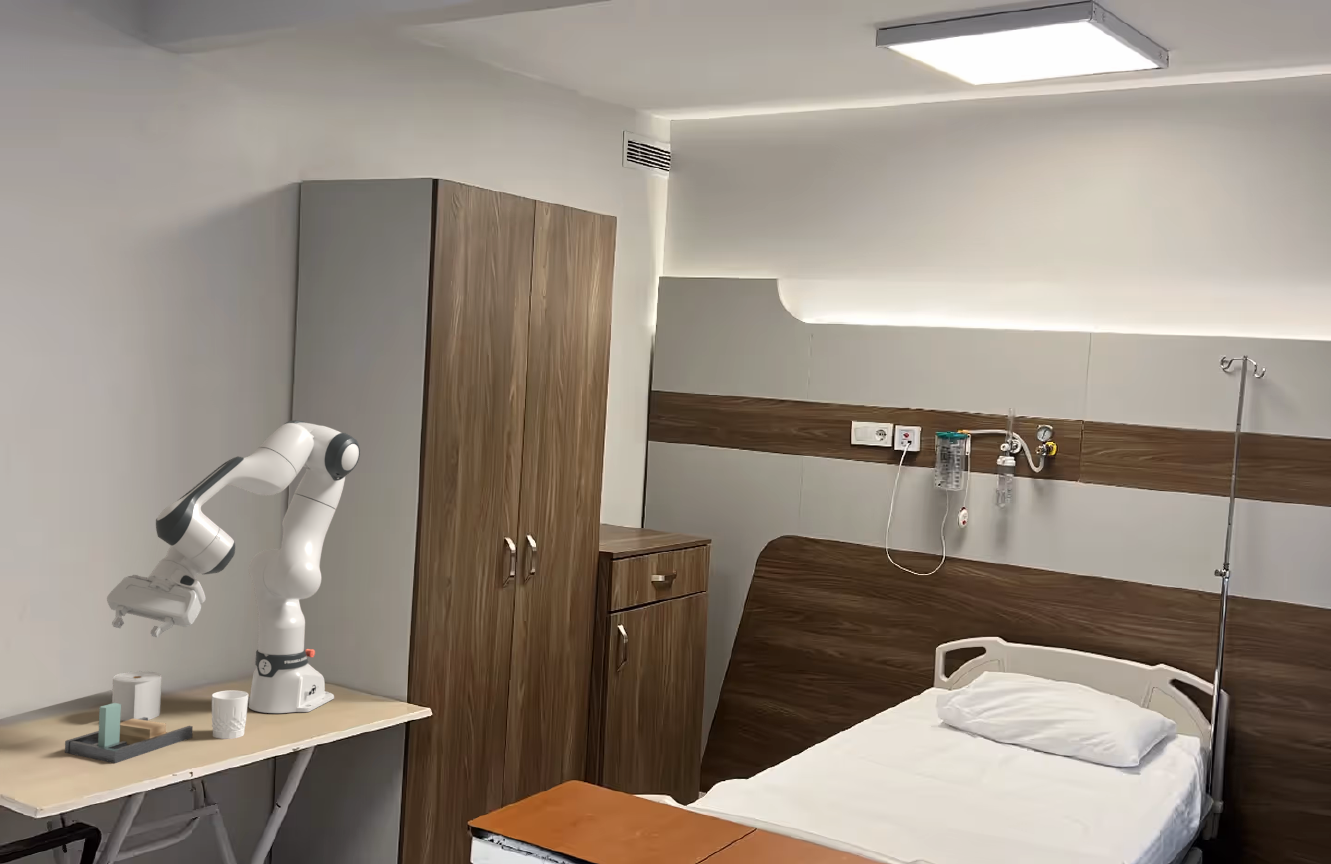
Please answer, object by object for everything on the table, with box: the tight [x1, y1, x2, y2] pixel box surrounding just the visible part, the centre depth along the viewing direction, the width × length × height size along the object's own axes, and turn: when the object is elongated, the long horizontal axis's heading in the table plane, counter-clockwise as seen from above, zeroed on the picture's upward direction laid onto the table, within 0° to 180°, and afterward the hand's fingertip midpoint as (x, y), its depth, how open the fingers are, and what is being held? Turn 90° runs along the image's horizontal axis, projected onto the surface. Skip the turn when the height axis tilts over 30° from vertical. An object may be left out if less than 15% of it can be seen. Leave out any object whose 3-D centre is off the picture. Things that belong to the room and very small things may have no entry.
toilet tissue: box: [111, 670, 162, 722], centre depth 289 cm, size 11×12×10 cm
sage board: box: [98, 702, 121, 747], centre depth 261 cm, size 4×2×10 cm, turn 158°
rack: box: [64, 717, 193, 764], centre depth 267 cm, size 22×14×3 cm, turn 158°
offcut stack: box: [119, 719, 168, 745], centre depth 269 cm, size 6×10×4 cm, turn 68°
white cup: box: [211, 689, 249, 740], centre depth 278 cm, size 8×8×10 cm
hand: (134, 630), depth 266 cm, fingers open, 8 cm apart
